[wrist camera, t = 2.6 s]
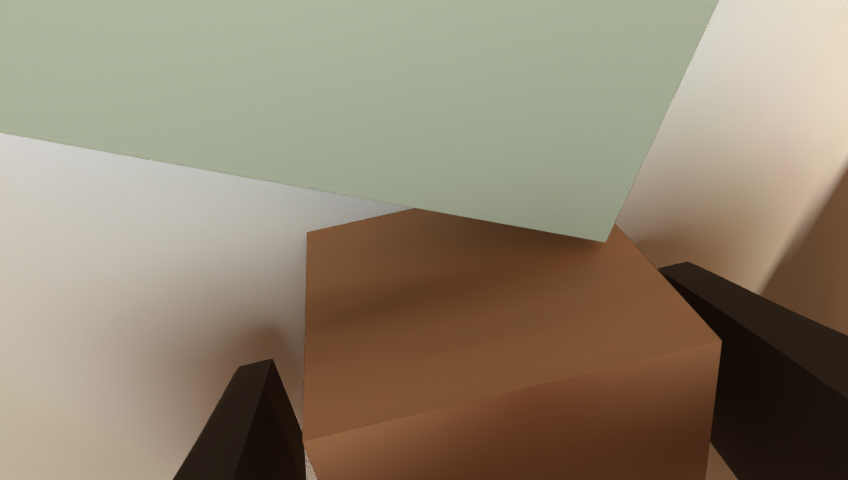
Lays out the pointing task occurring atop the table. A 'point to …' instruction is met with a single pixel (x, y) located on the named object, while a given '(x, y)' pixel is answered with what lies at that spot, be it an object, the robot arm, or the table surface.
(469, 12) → the sage green box
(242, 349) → the table surface
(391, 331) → the walnut cube
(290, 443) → the robot arm
